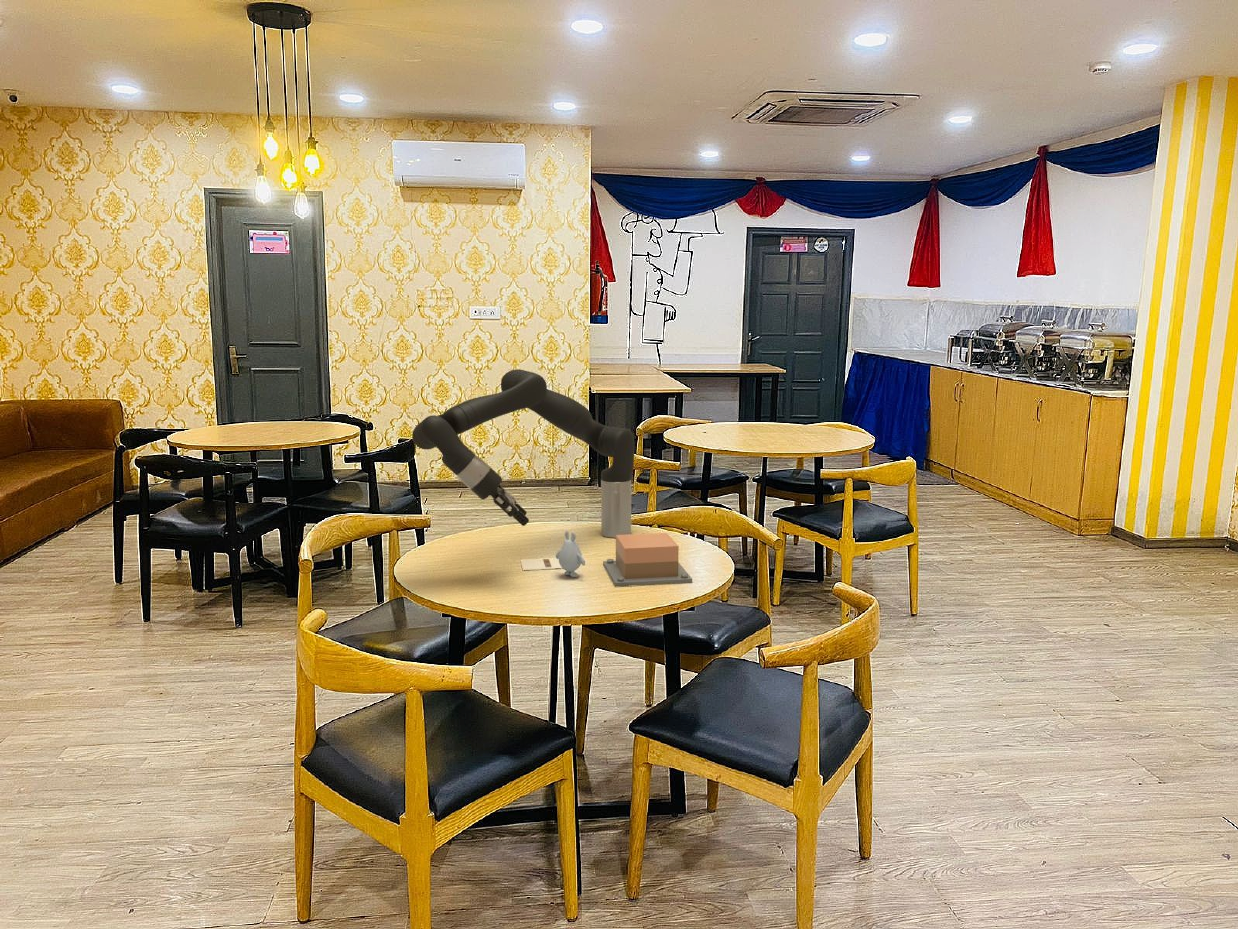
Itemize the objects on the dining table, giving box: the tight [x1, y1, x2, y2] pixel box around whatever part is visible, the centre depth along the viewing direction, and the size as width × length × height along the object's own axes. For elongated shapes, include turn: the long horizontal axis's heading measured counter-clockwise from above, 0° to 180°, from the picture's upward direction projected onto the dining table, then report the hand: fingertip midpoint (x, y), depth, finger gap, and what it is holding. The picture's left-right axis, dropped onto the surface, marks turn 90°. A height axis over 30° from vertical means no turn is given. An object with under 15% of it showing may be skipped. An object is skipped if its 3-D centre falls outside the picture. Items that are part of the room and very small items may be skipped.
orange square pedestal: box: [602, 532, 693, 588], centre depth 242 cm, size 20×20×9 cm
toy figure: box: [555, 530, 586, 578], centre depth 240 cm, size 11×6×12 cm, turn 48°
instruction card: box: [520, 557, 562, 572], centre depth 252 cm, size 10×14×1 cm
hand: (525, 519), depth 236 cm, fingers open, 8 cm apart
